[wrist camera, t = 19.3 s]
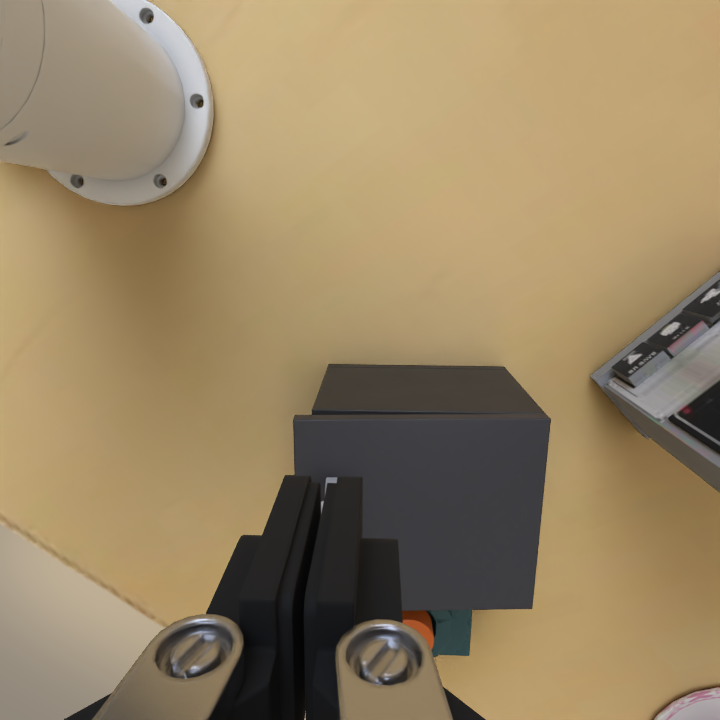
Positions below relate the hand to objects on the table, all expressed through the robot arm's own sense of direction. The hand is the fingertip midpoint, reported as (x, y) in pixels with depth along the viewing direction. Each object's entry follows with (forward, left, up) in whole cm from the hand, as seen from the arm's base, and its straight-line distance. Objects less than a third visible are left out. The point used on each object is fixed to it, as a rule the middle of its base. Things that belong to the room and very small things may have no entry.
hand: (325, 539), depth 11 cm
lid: (+3, -9, -17) cm, 19 cm away
